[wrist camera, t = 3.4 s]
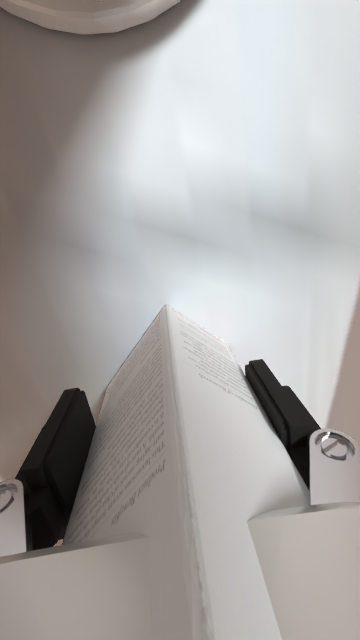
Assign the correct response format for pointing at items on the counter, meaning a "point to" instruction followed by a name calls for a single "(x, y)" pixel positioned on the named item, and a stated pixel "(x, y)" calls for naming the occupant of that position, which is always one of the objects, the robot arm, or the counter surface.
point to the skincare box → (188, 481)
